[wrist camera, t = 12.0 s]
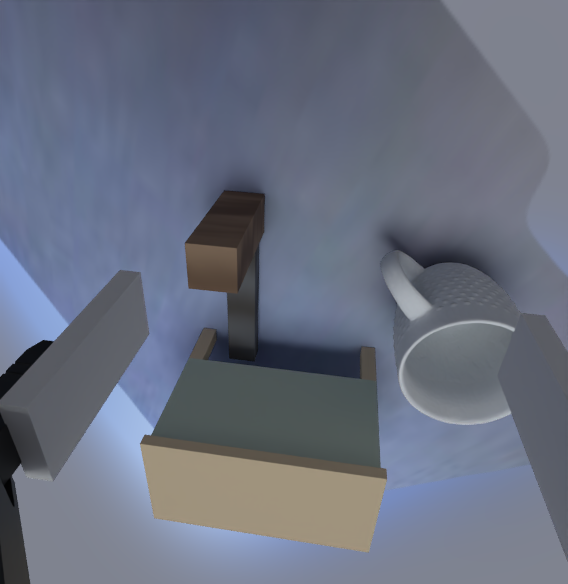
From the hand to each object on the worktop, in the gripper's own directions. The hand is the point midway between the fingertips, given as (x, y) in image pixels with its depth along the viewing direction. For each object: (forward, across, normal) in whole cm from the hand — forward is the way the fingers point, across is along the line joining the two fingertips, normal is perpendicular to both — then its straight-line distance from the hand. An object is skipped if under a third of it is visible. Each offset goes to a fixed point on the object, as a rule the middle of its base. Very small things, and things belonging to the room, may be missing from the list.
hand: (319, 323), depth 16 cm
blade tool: (+29, -9, -16) cm, 34 cm away
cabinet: (+29, -4, -28) cm, 40 cm away
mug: (+29, +11, -14) cm, 34 cm away
